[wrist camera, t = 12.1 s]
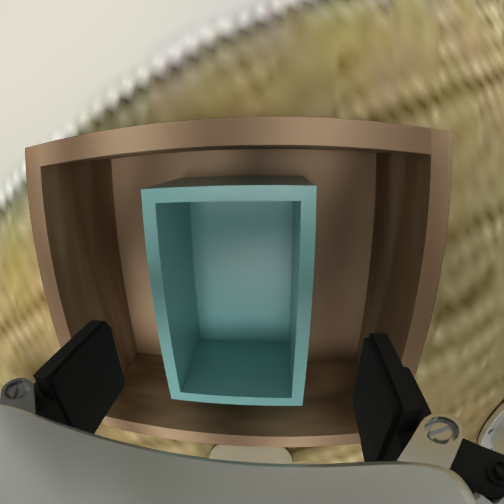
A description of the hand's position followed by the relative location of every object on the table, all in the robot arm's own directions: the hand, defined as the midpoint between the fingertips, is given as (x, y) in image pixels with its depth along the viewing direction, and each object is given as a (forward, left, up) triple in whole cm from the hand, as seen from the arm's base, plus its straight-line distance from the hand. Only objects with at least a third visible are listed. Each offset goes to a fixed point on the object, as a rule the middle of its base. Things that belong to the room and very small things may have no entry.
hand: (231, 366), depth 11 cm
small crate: (0, 0, -9) cm, 9 cm away
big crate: (+1, 0, -10) cm, 10 cm away
